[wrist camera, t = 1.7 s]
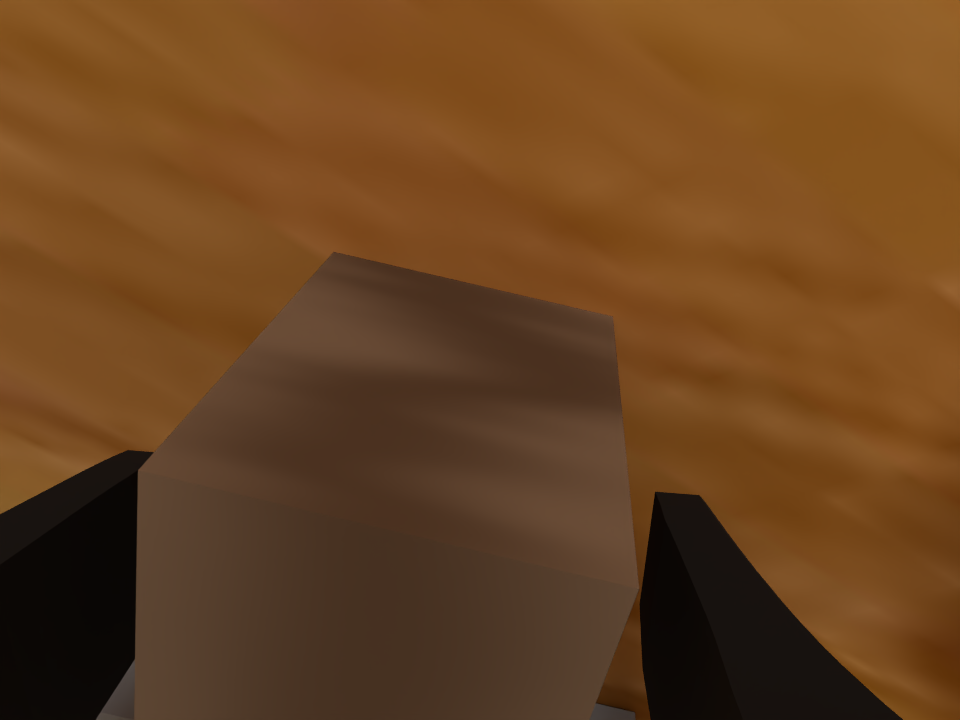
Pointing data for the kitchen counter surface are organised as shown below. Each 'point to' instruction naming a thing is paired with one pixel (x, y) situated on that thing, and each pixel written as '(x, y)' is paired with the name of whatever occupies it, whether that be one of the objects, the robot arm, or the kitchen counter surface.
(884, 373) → the kitchen counter surface
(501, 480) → the walnut peg
